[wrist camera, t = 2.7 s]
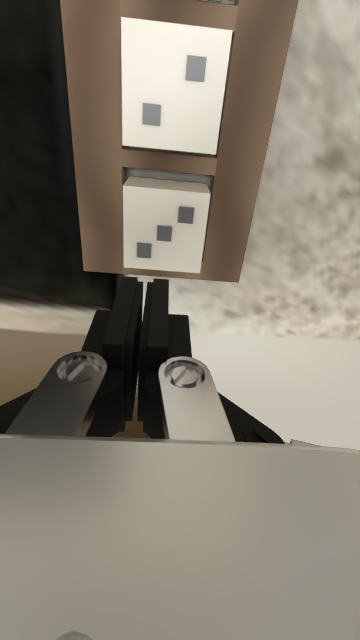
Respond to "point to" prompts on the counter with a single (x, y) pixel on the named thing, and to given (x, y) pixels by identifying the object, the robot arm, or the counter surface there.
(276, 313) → the counter surface
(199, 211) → the white square block
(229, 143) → the keypad board
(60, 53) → the counter surface
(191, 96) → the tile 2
